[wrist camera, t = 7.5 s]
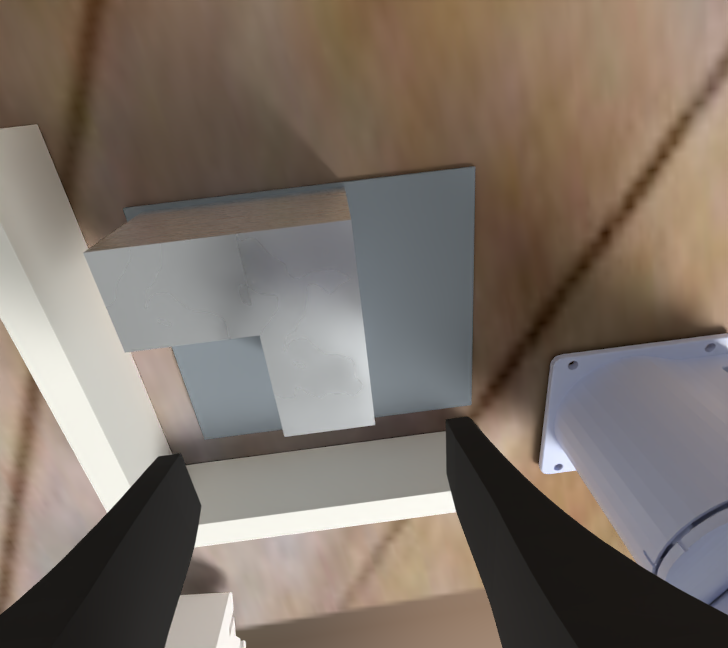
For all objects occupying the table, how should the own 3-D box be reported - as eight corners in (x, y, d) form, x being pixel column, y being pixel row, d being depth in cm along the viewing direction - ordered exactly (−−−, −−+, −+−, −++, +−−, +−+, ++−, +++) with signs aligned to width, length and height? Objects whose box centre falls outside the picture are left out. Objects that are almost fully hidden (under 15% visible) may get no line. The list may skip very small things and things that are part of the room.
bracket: (364, 355, 22) (375, 425, 17) (198, 377, 21) (166, 452, 17) (344, 186, 18) (350, 219, 13) (142, 211, 18) (82, 252, 13)
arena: (488, 72, 17) (533, 69, 13) (478, 447, 25) (503, 505, 22) (-5, 129, 16) (-97, 141, 13) (158, 489, 25) (130, 556, 21)
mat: (473, 166, 18) (475, 166, 18) (470, 402, 24) (471, 405, 24) (124, 207, 18) (122, 208, 18) (205, 437, 23) (204, 439, 23)
